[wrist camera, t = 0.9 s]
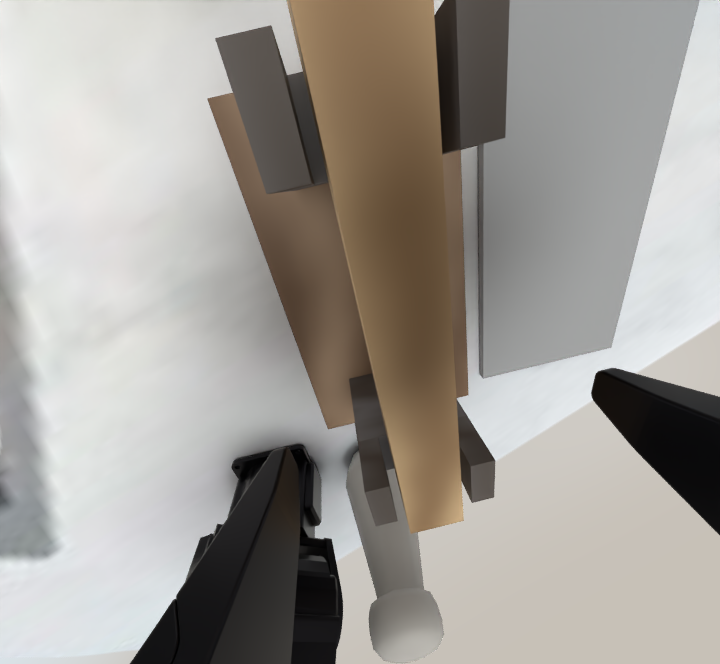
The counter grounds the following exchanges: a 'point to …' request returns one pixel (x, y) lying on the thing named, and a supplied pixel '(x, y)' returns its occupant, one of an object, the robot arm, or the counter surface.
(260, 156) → the rail stand
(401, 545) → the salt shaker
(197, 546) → the robot arm
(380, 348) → the oak rail
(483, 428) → the counter surface
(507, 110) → the grey mat
